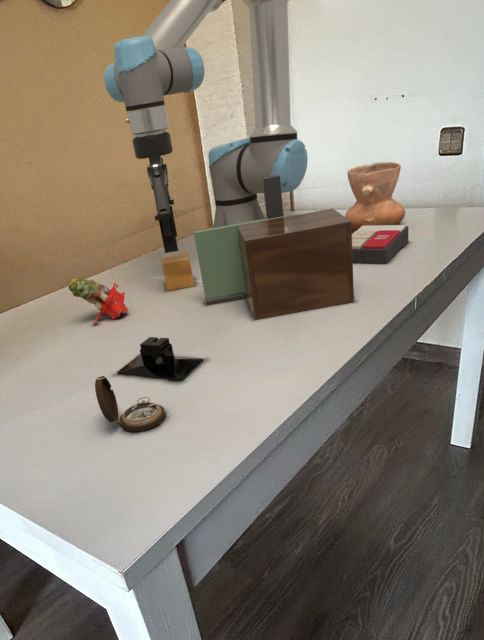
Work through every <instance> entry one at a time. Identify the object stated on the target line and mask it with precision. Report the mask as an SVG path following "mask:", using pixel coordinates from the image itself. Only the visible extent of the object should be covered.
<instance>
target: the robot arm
mask: <svg viewBox="0 0 484 640" xmlns="http://www.w3.org/2000/svg"><path fill="white" fill-rule="evenodd" d="M226 1H227V0H169V1H168V3H167V4H166V5H165V6H164V8H162V10H161V11H160V13H159V14H158V15H157V17H155V19H154V20H153V22H152V23H151V24H150V25H149V27H147V29H146V30H145V32H144V33H143V34H142V35H141V36H134V37H129V38H125V39H121V40H119V41H117V42H116V43H115V44H114V47H113V50H114V59H115V61H114V62H112V63H110V64H109V65H108V66H106V69H105V71H104V74H103V75H104V76H103V80H104V86H105V89H106V91H107V93H108V95H109V96H110V97H111V98H112V99H113V100H114V101H116V102H118V103H124V106H125V107H124V108H125V111H126V115H127V117H125V118H124V123H125V124H129V130H130V134H131V135H132V136H134V137H133V138H132V146H133V152H134V155H135V158H136V159H138V160H145V159H148V161H149V164H148V166H147V167H146V172H147V176H148V179H149V183H150V187H151V190H153V196H154V202H155V209H156V215H154V221H158V224H159V229H160V233H161V240H162V245H163V249H164V253H165V254H169V253H173V252H174V253H175V252H179V246H178V242H177V237H178V232H177V225H176V221H175V217H174V210H173V205H175V201H174V199H172V198H171V196H170V192H169V191H170V190H169V177H168V176H169V175H168V172H169V171H168V166H167V163H164V158H163V157H162V156H166V155H171V153H172V152H173V151H174V150H173V143H172V137H171V133H170V132H169V131H167V130H168V129H169V128H170V125H169V124H170V123H169V119H168V114H167V108H166V103H165V97H164V96H170V95H171V96H172V95H176V94H182V93H184V94H187V93H190V92H191V91H195V90H197V89H199V88H200V87H201V85H202V84H203V82H204V79H205V74H206V73H205V72H206V71H205V64H204V63H205V62H204V59H203V57H202V55H201V54H200V52H199V51H198V50H197V49H195V48H193V47H189V46H188V47H186V46H185V44H186V43H187V41H189V39H190V38H191V36H193V34H194V32H195V31H196V30H197V28H198V27H199V26H200V24H202V22H203V21H204V19H205V18H206V17H207V16H208V14H209V13H213V12H215V11H217V10H218V9H219V8H220V7H221V6H222V4H223V3H225V2H226ZM242 2H243V3H244V4H245V5H246V6H247V8H248V9H249V28H250V47H251V67H252V86H253V105H254V122H255V124H254V125H255V127H254V130H253V131H252V132H251V134H250V135H249V137H245V138H243V139H238V140H235V141H232V142H228V143H224V144H222V145H218V146H215V147H212V148H210V150H209V151H208V154H207V155H208V170H209V175H210V180H211V187H212V192H213V198H214V204H215V212H214V219H213V225H212V226H213V227H212V228H216V227H222V226H228V225H233V224H239V223H244V222H250V221H255V220H261V219H266V217H265V215H264V213H263V209H262V208H261V205H260V203H259V200H258V194H264V189H263V179H262V178H263V177H268V176H273V175H279V176H280V182H281V192H282V194H283V193H291V192H293V191H295V190H296V189H297V188H298V187H299V186H300V185H301V184H302V181H303V180H304V178H305V176H306V172H307V170H308V169H307V168H308V160H309V159H308V151H307V149H306V145H305V143H304V142H303V141H301V140H300V139H298V131H297V130H296V128H295V127H293V125H292V123H291V122H292V121H291V88H290V87H291V85H290V82H291V81H290V53H289V52H290V49H289V48H290V47H289V44H290V43H289V13H288V12H289V11H288V10H289V9H288V8H289V7H288V4H289V2H290V0H242Z"/></svg>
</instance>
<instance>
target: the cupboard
mask: <svg viewBox="0 0 484 640" xmlns="http://www.w3.org/2000/svg"><path fill="white" fill-rule="evenodd" d="M237 230H238V237H239V244H240V252H241V259H242V266H243V274H244V281H245V288H246V292H242V293H236V294H231V295H225V296H220V297H214V298H209V299H205V302H206V305H207V306H210V305H216V304H221V303H226V302H232V301H238V300H242V299H246V300H247V302H248V305H249V307H250V310H251V313H252V315H253V319H254V320H255V321H256V320H261V319H266V318H272V317H277V316H283V315H289V314H295V313H298V312H299V313H300V312H304V311H305V312H306V311H311V310H317V309H322V308H328V307H332V306H338V305H339V306H340V305H345V304H350V303H354V302H355V293H354V291H355V290H354V289H355V288H354V263H353V257H352V234H353V230H352V225H351V221H350V220H349V219H347V218H346V217H345V215H343V214H342V213H340V212H339V211H338V210H336V209H334V208H333V207H331V208H327V209H323V210H317V211H310V212H306V213H299V214H295V215H289V216H288V217H283V218H277V219H272V220H266V221H260V222H255V223H249V224H244V225H238V226H237Z"/></svg>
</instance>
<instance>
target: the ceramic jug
mask: <svg viewBox="0 0 484 640" xmlns="http://www.w3.org/2000/svg"><path fill="white" fill-rule="evenodd" d="M401 168H402V165H401V163H398V162H393V161H379V162H372V163H365V164H362V165H357V166H354V167H351V168H350V169H348V170H347V180H348V183H349V186H350V189H351V191H352V194H353V196H354V199H355V200H356V201H355V203H354V204H353V205H352V206H351V207H350V208H349V209H348V210H347V211H346V213H345V214H344V217H346V218H347V219H349V220H350V221H351V225H352V231H354V232H355V231H357V230H358V229H359V228H360V227H361V226H373V225H400V223H401V222H402V221H403V220H404V218H405V216H406V210H405V207H404V206H403V205H402V204H401V203H400V202H398V201H396V200H395V199H393V198H392V196H393V194H394V191H395V189H396V186H397V183H398V181H399V178H400V173H401Z"/></svg>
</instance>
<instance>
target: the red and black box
mask: <svg viewBox="0 0 484 640" xmlns="http://www.w3.org/2000/svg"><path fill="white" fill-rule="evenodd" d="M408 243H409V226H408V225H406V224H397V225H373V226H361V227H360V228H359V229H358V230H357V231H355V230H354V231H353V232H352V257H353V264H388V263H389V262H390V261H391V260H392V258H393V257H394V256H395V255H396V254H397V253H398V251H400V249H401V248H404V247H406V245H407V244H408Z"/></svg>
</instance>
